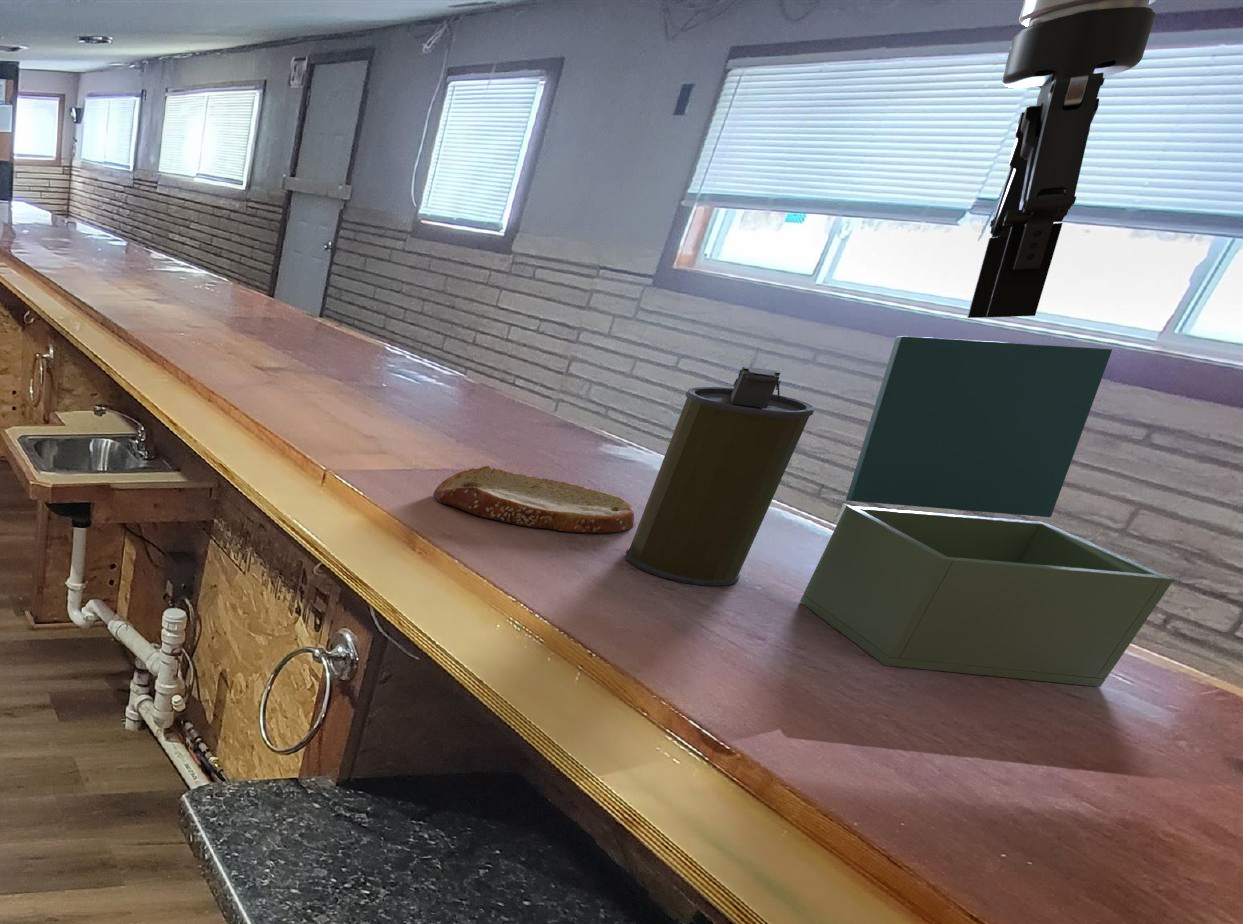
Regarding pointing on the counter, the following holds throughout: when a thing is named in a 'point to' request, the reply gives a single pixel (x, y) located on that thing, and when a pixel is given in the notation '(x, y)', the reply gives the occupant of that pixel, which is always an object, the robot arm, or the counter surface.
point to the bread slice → (535, 502)
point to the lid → (976, 425)
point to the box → (981, 595)
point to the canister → (718, 479)
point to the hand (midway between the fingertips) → (998, 317)
